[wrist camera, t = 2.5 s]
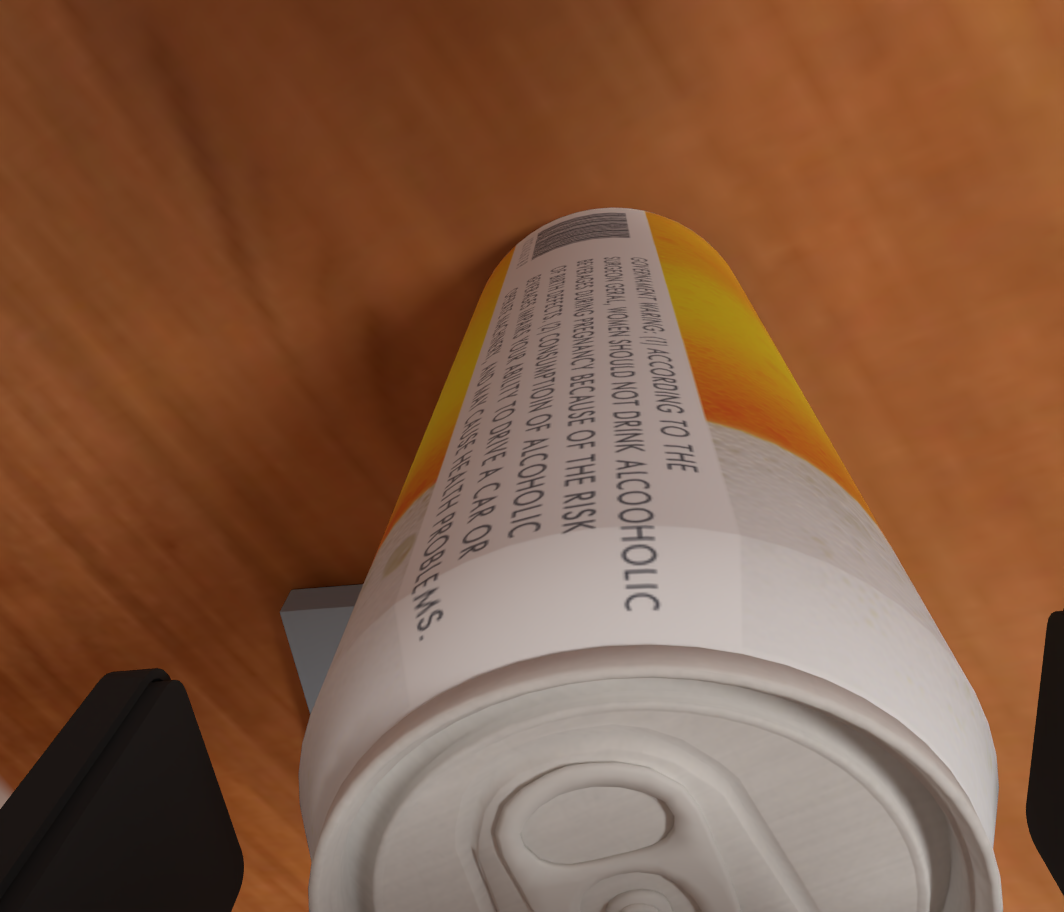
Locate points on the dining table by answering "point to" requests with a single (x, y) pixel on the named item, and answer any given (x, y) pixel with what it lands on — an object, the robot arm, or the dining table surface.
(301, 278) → the dining table surface
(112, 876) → the robot arm
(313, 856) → the beer can
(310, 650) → the base board
